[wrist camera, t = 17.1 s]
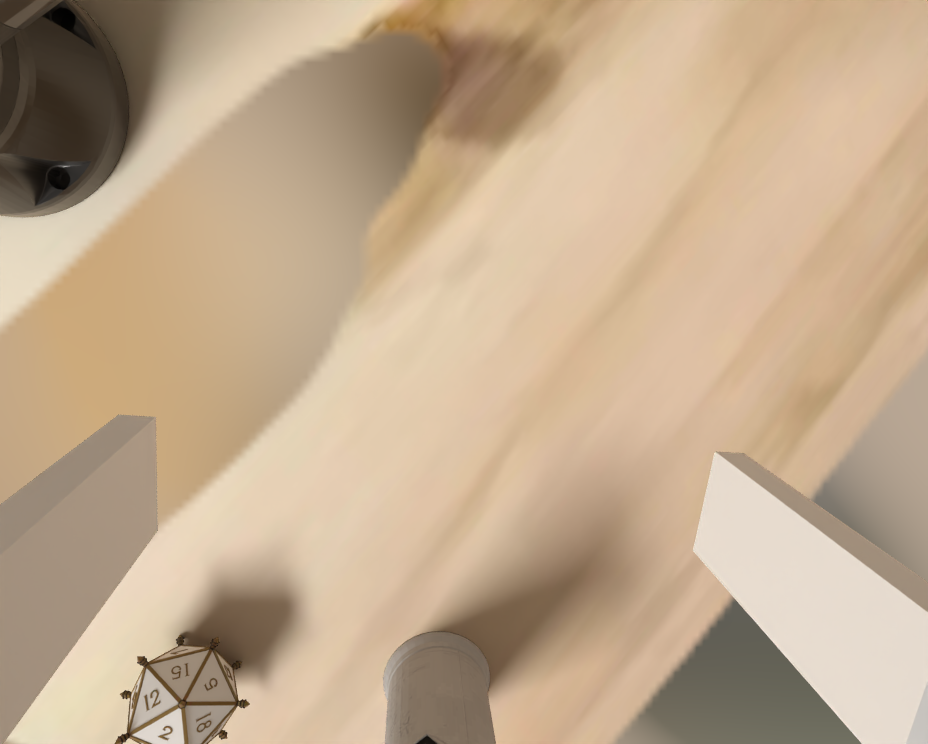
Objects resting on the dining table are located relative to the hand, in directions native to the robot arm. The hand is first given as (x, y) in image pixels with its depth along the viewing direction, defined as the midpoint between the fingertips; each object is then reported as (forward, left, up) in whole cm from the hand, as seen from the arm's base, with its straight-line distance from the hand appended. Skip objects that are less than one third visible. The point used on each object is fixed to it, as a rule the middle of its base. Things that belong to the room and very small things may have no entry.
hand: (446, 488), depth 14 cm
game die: (-14, -29, -32) cm, 45 cm away
